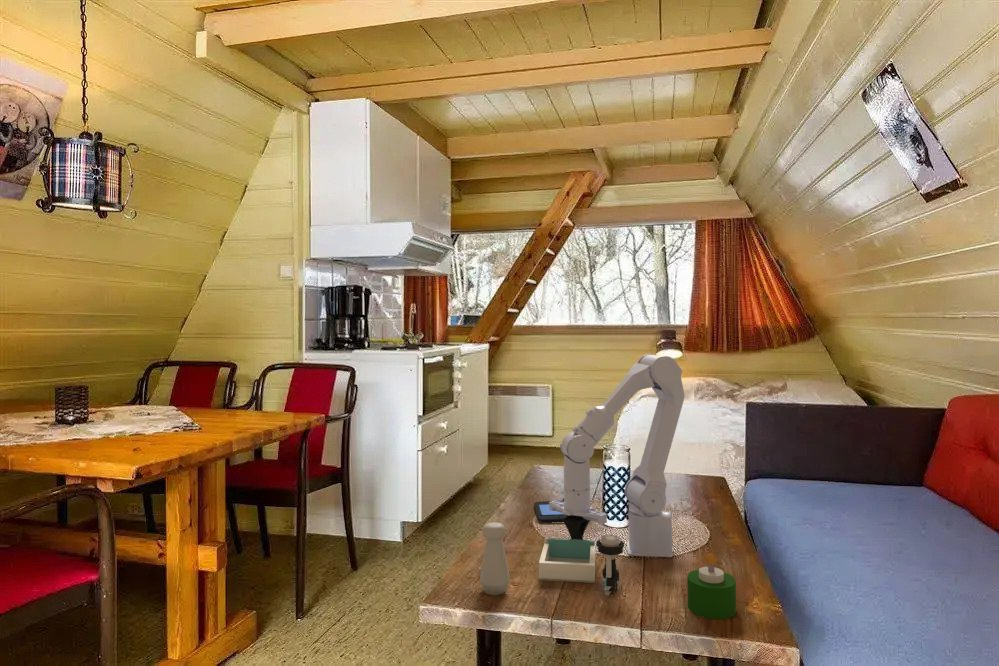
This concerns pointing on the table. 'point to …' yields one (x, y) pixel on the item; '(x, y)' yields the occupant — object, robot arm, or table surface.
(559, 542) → the gate
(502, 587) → the salt shaker
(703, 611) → the candle
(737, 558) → the table surface
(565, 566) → the bay
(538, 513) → the handheld game console
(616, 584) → the push button
